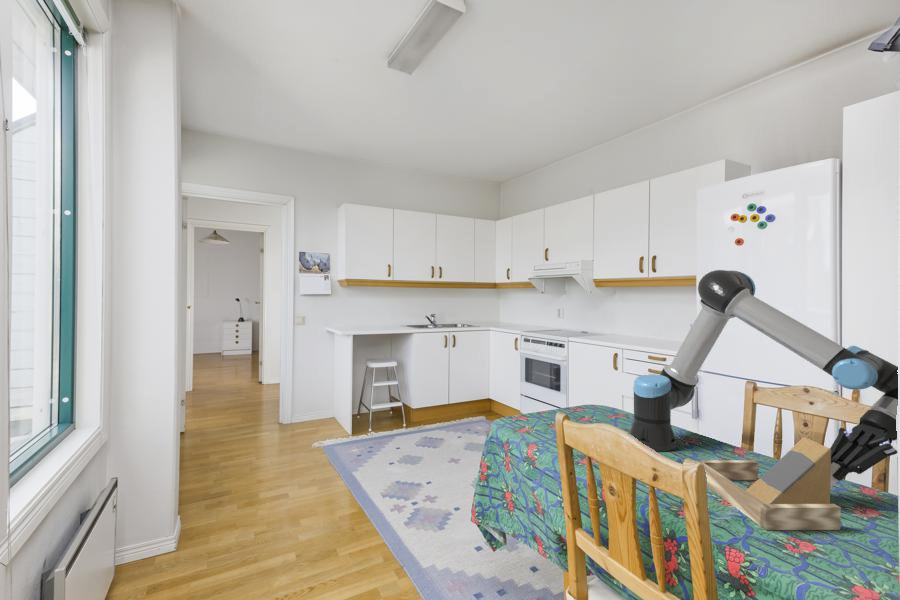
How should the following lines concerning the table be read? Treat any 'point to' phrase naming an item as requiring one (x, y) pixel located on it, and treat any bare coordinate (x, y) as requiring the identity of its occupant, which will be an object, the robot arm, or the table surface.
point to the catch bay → (759, 511)
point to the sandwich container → (797, 477)
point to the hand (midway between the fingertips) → (821, 485)
